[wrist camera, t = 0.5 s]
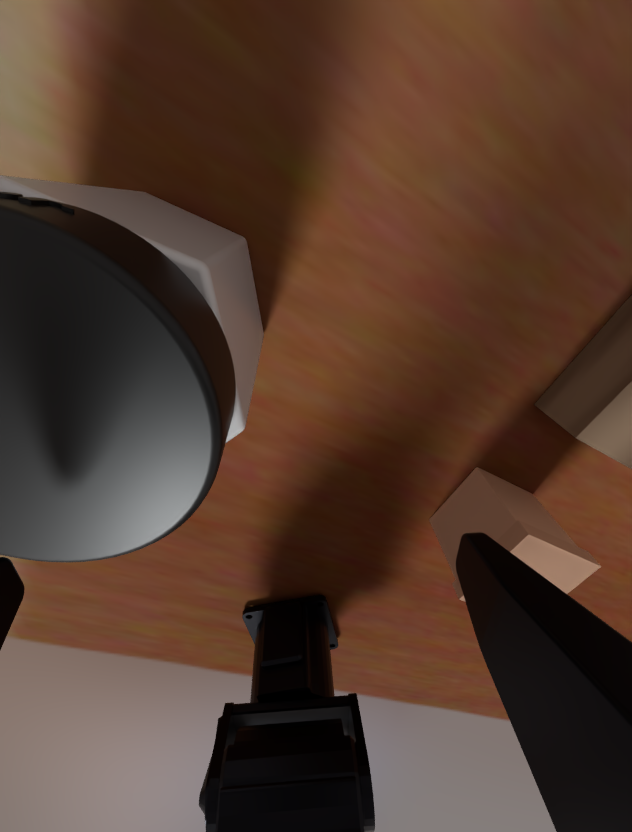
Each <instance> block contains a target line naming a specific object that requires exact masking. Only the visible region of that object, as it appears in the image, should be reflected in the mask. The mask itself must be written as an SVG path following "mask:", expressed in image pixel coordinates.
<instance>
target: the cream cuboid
mask: <svg viewBox="0 0 632 832" xmlns="http://www.w3.org/2000/svg"><path fill="white" fill-rule="evenodd" d="M429 521H430V523H431V525H432V528H433V530H434V532H435V534H436V537H437V539H438V541H439V543H440V545H441V548H442V550H443V552H444V554H445V557H446V559H447V561H448V563H449V566H450V568H451V570H452V572H453V574H454V577H455V579H456V580H455V581H454V582H453V583H452V584H453V587H454V589H455V591H456V594H457V596H458V598H459V599H460V600H462V601H465V598H464V595H463V592H462V588H461V585H460V582H459V579H458V575H457V572H456V557H457V553H458V548H459V544H460V540H461V537H462V535H463V534H464V533H475V532H482V533H485V534H486V535H488V536H489V537H491V538H492V539H493V540H495V541H496V542H497V543H499V544H500V545H501V546H503V547H504V548H505V549H507V550H508V551H509V552H511V553H512V554H513V555H515V556H516V557H518V558H519V559H520V560H522V561H523V562H524V563H526V564H527V565H528V566H530V567H531V568H532V569H534V570H535V571H536V572H538V573H539V574H540V575H542V576H543V577H544V578H546V579H547V580H548V581H550V582H551V583H553V584H554V585H555V586H557V587H558V588H559V589H561V590H562V591H563V592H565V593H566V594H567V593H569V592H570V591H571V590H572V589H574V588H575V587H576V586H577V585H579V584H580V583H581V582H582V581H584V580H585V579H586V578H587V577H589V576H590V575H591V574H592V573H594V572H595V571H596V570H597V569H599V568H600V567H601V566H600V565H599V563H598V562H597V561H596V560H595V559H594V558H593V557H592V555H591V554H590V553H589V552H588V551H586V550H583V549H581V548H579V547H578V546H577V545H576V544H575V543H574V542H573V541H572V539H571V538H570V537H569V536H568V535H567V534H566V532H565V531H564V530H563V529H562V528H561V526H560V525H559V524H558V523H557V522H556V521H555V519H554V518H553V517H552V516H551V515H550V514H549V512H548V511H547V510H546V509H545V508H544V507H543V505H542V504H541V503H540V502H539V501H538V500H537V498H536V497H535V496H534V495H533V494H532V493H530V492H527V491H525V490H523V489H521V488H519V487H517V486H515V485H513V484H511V483H509V482H507V481H505V480H503V479H501V478H499V477H497V476H495V475H493V474H491V473H489V472H487V471H484V470H482V469H480V468H478V467H476V468H475V469H474V470H473V471H472V473H471V474H470V475H469V476H468V477H467V478H466V479H465V480H464V482H463V483H462V484H461V485H460V486H459V487H458V488H457V489H456V490H455V492H454V493H453V494H452V495H451V496H450V497H449V498H448V499H447V500H446V502H445V503H444V504H443V505H442V506H441V507H440V508H439V509H438V510H437V512H436V513H435V514H434V515H433V516H432V517H431V518H430V519H429ZM465 602H466V601H465Z"/></svg>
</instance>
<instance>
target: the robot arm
mask: <svg viewBox="0 0 632 832" xmlns="http://www.w3.org/2000/svg"><path fill="white" fill-rule="evenodd" d="M456 572H457V575H458V579H459V582H460V585H461V588H462V592H463V595H464V598H465V601H466V605H467V608H468V611H469V614H470V618H471V621H472V624H473V627H474V631H475V634H476V637H477V640H478V643H479V646H480V649H481V652H482V654H483V657H484V659H485V662H486V664H487V667H488V669H489V671H490V674H491V676H492V679H493V681H494V683H495V686H496V688H497V690H498V693H499V695H500V698H501V700H502V702H503V705H504V707H505V710H506V712H507V714H508V717H509V719H510V721H511V724H512V726H513V728H514V731H515V733H516V736H517V738H518V741H519V743H520V745H521V748H522V750H523V752H524V755H525V757H526V759H527V762H528V764H529V767H530V769H531V771H532V774H533V776H534V779H535V781H536V783H537V786H538V788H539V791H540V793H541V795H542V798H543V800H544V802H545V805H546V807H547V810H548V812H549V814H550V817H551V819H552V822H553V824H554V826H555V829H556V831H557V832H632V642H631V641H629V640H628V639H627V638H625V637H624V636H623V635H621V634H620V633H619V632H617V631H616V630H614V629H613V628H612V627H610V626H609V625H608V624H606V623H605V622H604V621H602V620H601V619H600V618H598V617H597V616H596V615H594V614H593V613H592V612H590V611H589V610H588V609H586V608H585V607H584V606H582V605H581V604H579V603H578V602H577V601H575V600H574V599H573V598H571V597H570V596H569V595H567V594H566V593H565V592H563V591H562V590H561V589H559V588H558V587H557V586H555V585H554V584H553V583H551V582H550V581H548V580H547V579H546V578H544V577H543V576H542V575H540V574H539V573H538V572H536V571H535V570H534V569H532V568H531V567H530V566H528V565H527V564H526V563H524V562H523V561H522V560H520V559H519V558H518V557H516V556H515V555H513V554H512V553H511V552H509V551H508V550H507V549H505V548H504V547H503V546H501V545H500V544H499V543H497V542H496V541H495V540H493V539H492V538H491V537H489V536H488V535H486V534H485V533H482V532H475V533H464V534H463V535H462V537H461V540H460V544H459V548H458V553H457V557H456ZM23 596H24V585H23V582H22V580H21V579H20V577H19V575H18V573H17V571H16V569H15V567H14V565H13V563H12V562H11V560H9V559H8V558H5V557H0V650H1V647H2V645H3V643H4V641H5V638H6V636H7V634H8V631H9V629H10V627H11V624H12V622H13V620H14V618H15V615H16V613H17V611H18V608H19V606H20V604H21V601H22V599H23ZM242 617H243V620H244V622H245V624H246V626H247V629H248V631H249V633H250V635H251V637H252V639H253V642H254V644H255V650H254V663H253V675H252V689H251V702H250V703H244V704H234V703H225V706H224V711H223V716H221V717H220V718H219V719H218V725H217V732H216V739H215V744H214V749H213V754H212V757H211V760H210V763H209V767H208V770H207V773H206V776H205V779H204V783H203V786H202V789H201V792H200V797H199V806H200V808H201V810H202V811H203V813H204V814H205V825H206V832H374V829H375V815H374V802H373V792H372V782H371V774H370V767H369V761H368V755H367V749H366V744H365V738H364V733H363V727H362V722H361V716H360V711H359V706H358V700H357V694H356V693H352V694H348V695H347V696H334V687H333V676H332V665H331V654H330V650H331V649H335V648H337V647H338V639H337V636H336V632H335V628H334V625H333V621H332V617H331V614H330V610H329V607H328V603H327V599H326V597H325V596H322V595H318V596H313V597H307V598H301V599H296V600H290V601H284V602H279V603H273V604H268V605H262V606H256V607H251V608H246V609H244V611H243V616H242Z"/></svg>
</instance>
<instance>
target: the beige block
mask: <svg viewBox="0 0 632 832" xmlns="http://www.w3.org/2000/svg"><path fill="white" fill-rule="evenodd" d="M534 405H535V406H536V407H538V408H539V409H540V410H541V411H543V412H544V413H545V414H546V415H548V416H549V417H550V418H551V419H553V420H554V421H555V422H556V423H558V424H559V425H560V426H561V427H563V428H564V429H565V430H566V431H568V432H569V433H570V434H571V435H572V436H574V437H575V438H577V439H578V440H580V441H582V442H584V443H586V444H587V445H589V446H591V447H593V448H595V449H596V450H598V451H600V452H602V453H604V454H605V455H607V456H609V457H611V458H613V459H614V460H616V461H618V462H620V463H622V464H623V465H625V466H627V467H629V468H631V469H632V295H631V296H630V297H629V298H628V299H627V300H626V302H625V303H624V304H623V305H622V306H621V307H620V308H619V309H618V311H617V312H616V313H615V314H614V315H613V316H612V317H611V318H610V320H609V321H608V322H607V323H606V324H605V325H604V326H603V327H602V329H601V330H600V331H599V332H598V333H597V334H596V335H595V336H594V338H593V339H592V340H591V341H590V342H589V343H588V344H587V345H586V347H585V348H584V349H583V350H582V351H581V352H580V353H579V354H578V356H577V357H576V358H575V359H574V360H573V361H572V362H571V363H570V365H569V366H568V367H567V368H566V369H565V370H564V371H563V372H562V374H561V375H560V376H559V377H558V378H557V379H556V380H555V381H554V383H553V384H552V385H551V386H550V387H549V388H548V389H547V391H546V392H545V393H544V394H543V395H542V396H541V397H540V398H539V400H538V401H537V402H536V403H535V404H534Z"/></svg>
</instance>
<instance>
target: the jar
mask: <svg viewBox="0 0 632 832" xmlns="http://www.w3.org/2000/svg"><path fill="white" fill-rule="evenodd" d="M263 338H264V332H263V327H262V321H261V316H260V311H259V305H258V300H257V294H256V289H255V283H254V278H253V272H252V267H251V262H250V256H249V251H248V245H247V241H246V239H245V238H244V237H243V236H240V235H238V234H236V233H234V232H232V231H229V230H227V229H225V228H223V227H221V226H218V225H216V224H214V223H212V222H210V221H207V220H205V219H203V218H201V217H199V216H196V215H194V214H192V213H190V212H188V211H185V210H183V209H181V208H179V207H177V206H174V205H172V204H170V203H168V202H166V201H163V200H161V199H159V198H157V197H155V196H152V195H150V194H148V193H146V192H142V191H134V190H125V189H116V188H108V187H99V186H90V185H82V184H73V183H64V182H56V181H47V180H38V179H30V178H21V177H12V176H4V175H0V555H5V556H10V557H15V558H21V559H28V560H35V561H47V562H85V561H94V560H102V559H107V558H112V557H117V556H120V555H124V554H128V553H131V552H133V551H136V550H139V549H142V548H144V547H146V546H148V545H150V544H153V543H155V542H157V541H159V540H160V539H162V538H164V537H165V536H167V535H169V534H170V533H172V532H173V531H174V530H176V529H177V528H178V527H180V526H181V525H182V524H183V523H184V522H185V521H186V520H187V519H188V518H190V517H191V515H192V514H193V513H194V512H195V511H196V510H197V508H198V507H199V506H200V504H201V503H202V501H203V500H204V498H205V497H206V496H207V494H208V492H209V490H210V488H211V486H212V484H213V482H214V480H215V477H216V474H217V471H218V468H219V465H220V461H221V457H222V454H223V450H224V447H225V443H227V442H228V441H229V440H231V439H232V438H234V437H235V436H236V435H238V434H239V433H241V432H242V431H243V430H244V428H245V426H246V422H247V417H248V412H249V407H250V402H251V397H252V392H253V387H254V382H255V377H256V372H257V367H258V362H259V357H260V352H261V348H262V343H263Z"/></svg>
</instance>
